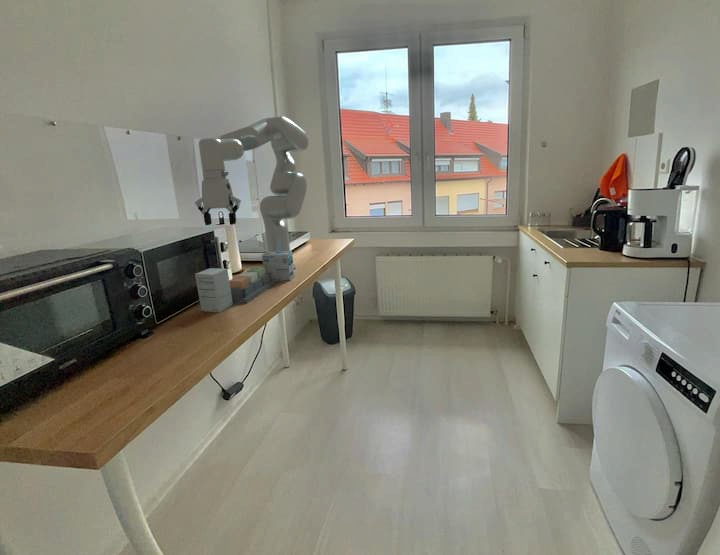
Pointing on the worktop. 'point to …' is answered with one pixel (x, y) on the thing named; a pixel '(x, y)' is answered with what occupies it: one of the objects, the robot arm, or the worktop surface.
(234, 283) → the terracotta button
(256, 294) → the grey long rectangular frame
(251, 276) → the cream button
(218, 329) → the worktop surface
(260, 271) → the sage button
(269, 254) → the light bulb box
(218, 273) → the supplement box
